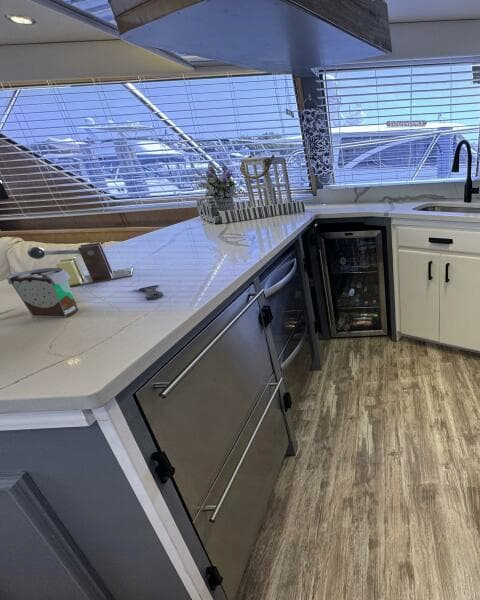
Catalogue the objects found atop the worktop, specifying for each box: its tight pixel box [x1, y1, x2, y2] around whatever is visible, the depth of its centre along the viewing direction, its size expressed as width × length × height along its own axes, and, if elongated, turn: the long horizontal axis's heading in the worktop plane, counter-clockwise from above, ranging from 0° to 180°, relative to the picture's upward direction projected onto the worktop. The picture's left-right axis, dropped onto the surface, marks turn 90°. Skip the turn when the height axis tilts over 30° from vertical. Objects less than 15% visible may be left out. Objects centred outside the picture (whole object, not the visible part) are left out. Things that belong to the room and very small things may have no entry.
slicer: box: [69, 242, 134, 289], centre depth 94 cm, size 14×10×11 cm
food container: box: [6, 267, 79, 319], centre depth 74 cm, size 12×6×10 cm, turn 82°
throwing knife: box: [138, 284, 164, 300], centre depth 87 cm, size 4×20×1 cm, turn 44°
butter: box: [55, 256, 86, 285], centre depth 92 cm, size 3×8×6 cm, turn 36°
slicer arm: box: [27, 246, 81, 260], centre depth 90 cm, size 14×3×3 cm, turn 126°
